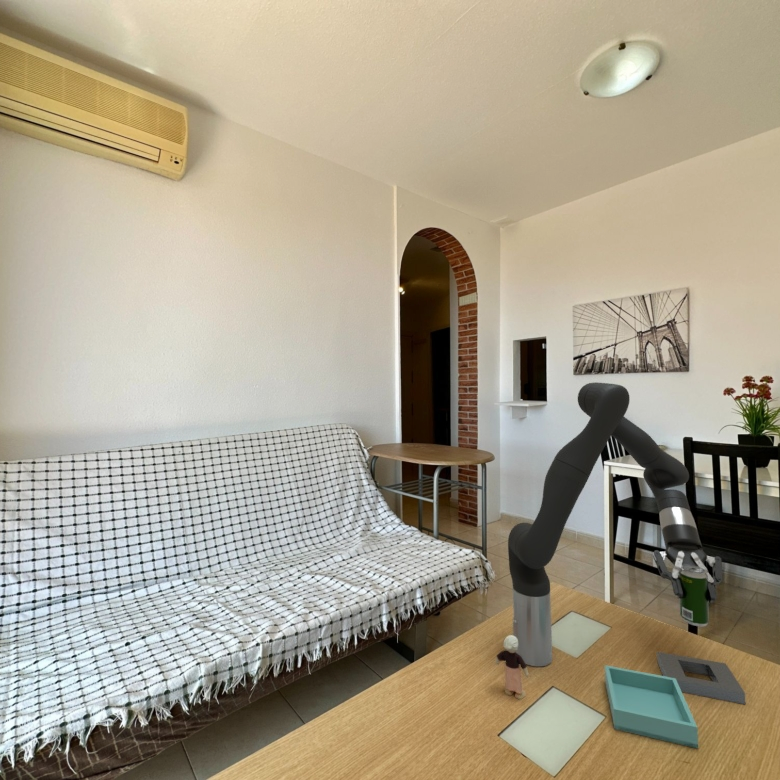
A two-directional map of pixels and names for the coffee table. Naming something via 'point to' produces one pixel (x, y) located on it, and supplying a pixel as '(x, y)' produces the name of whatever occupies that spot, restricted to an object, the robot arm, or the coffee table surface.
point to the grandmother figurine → (512, 667)
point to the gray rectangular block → (718, 688)
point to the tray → (650, 706)
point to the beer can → (694, 595)
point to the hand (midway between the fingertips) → (696, 599)
